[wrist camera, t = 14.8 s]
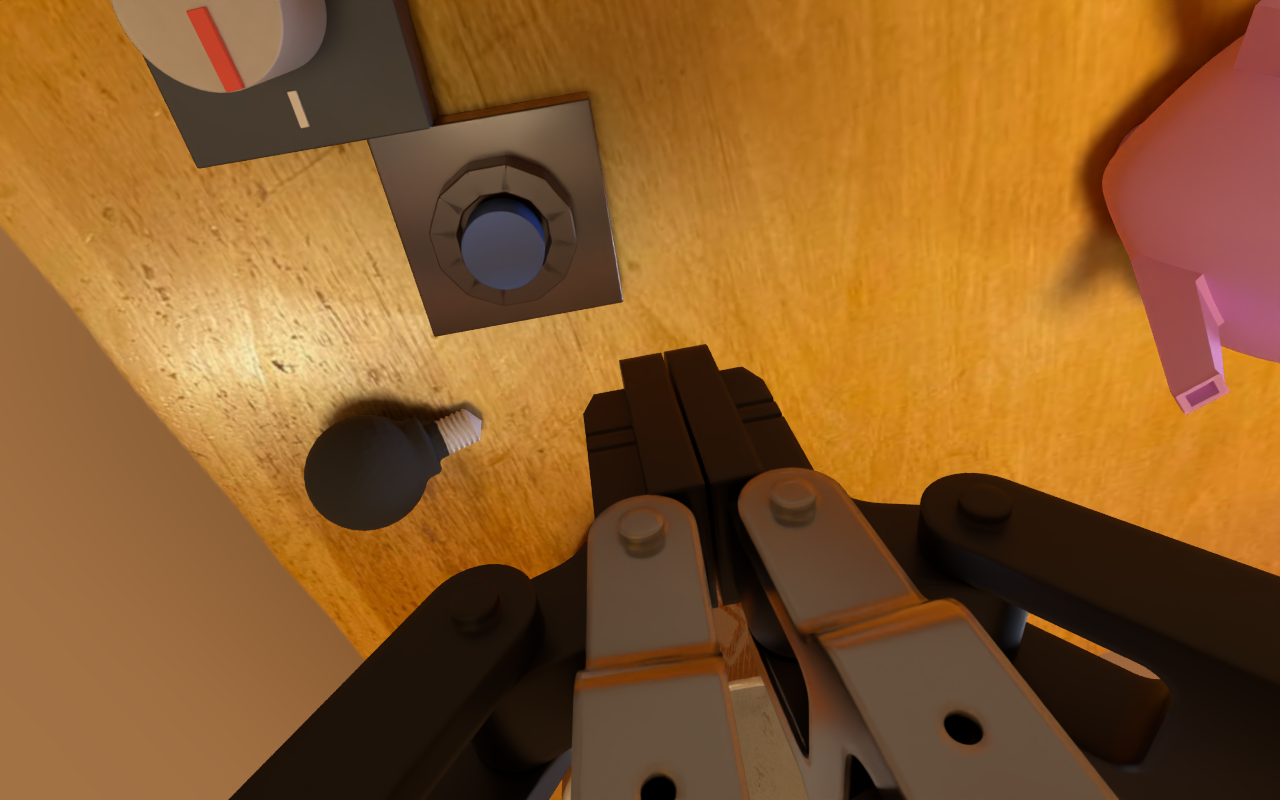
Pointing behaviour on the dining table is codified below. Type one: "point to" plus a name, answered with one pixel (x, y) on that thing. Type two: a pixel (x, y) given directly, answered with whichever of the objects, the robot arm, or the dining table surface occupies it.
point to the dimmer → (224, 38)
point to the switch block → (503, 168)
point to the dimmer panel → (315, 92)
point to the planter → (749, 716)
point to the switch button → (503, 244)
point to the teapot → (1208, 213)
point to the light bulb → (380, 466)
